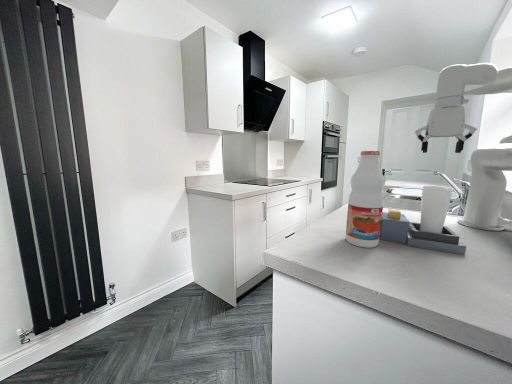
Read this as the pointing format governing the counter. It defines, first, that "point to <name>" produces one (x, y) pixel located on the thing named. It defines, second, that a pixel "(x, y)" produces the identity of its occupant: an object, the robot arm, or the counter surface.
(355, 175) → the fruit juice
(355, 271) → the counter surface
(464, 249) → the grey tray
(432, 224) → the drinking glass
